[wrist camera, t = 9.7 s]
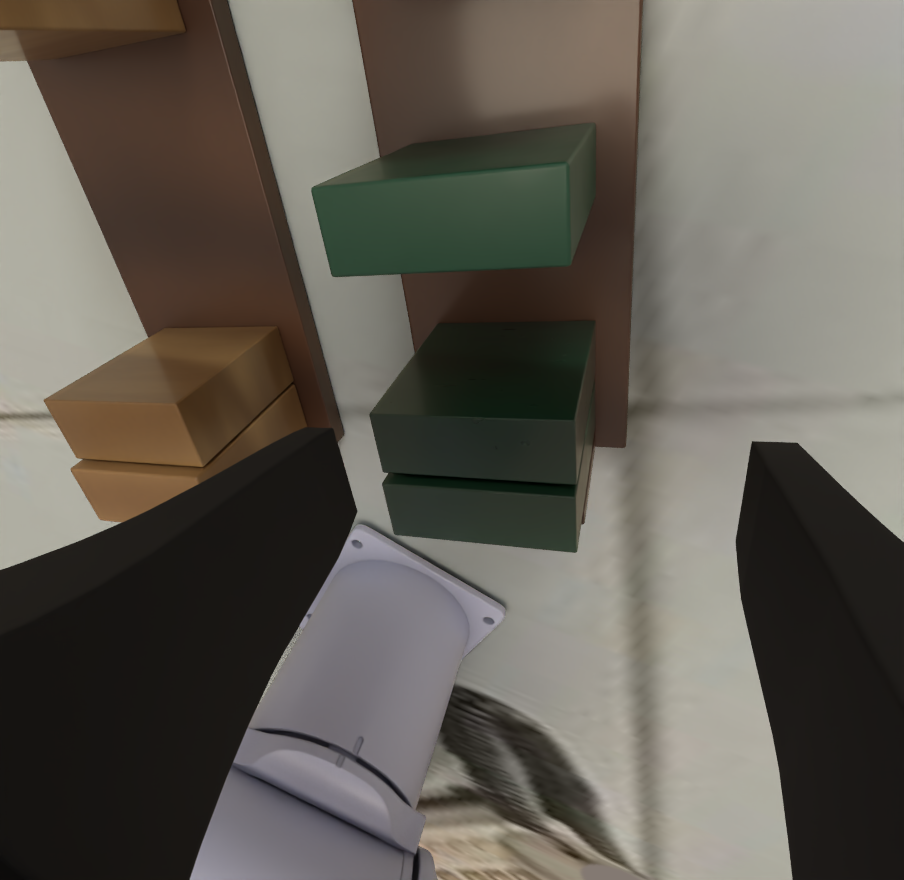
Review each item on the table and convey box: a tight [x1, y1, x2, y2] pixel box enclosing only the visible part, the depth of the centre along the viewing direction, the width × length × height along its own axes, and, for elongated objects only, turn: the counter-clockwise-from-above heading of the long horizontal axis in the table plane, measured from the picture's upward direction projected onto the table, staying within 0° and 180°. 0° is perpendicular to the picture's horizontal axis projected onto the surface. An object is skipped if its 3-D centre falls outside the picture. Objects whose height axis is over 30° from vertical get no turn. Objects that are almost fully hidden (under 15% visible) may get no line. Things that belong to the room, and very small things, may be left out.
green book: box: [311, 123, 596, 277], centre depth 13 cm, size 2×5×6 cm, turn 97°
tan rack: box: [0, 0, 344, 522], centre depth 18 cm, size 16×7×7 cm, turn 7°
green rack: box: [352, 0, 643, 553], centre depth 14 cm, size 16×7×7 cm, turn 7°
